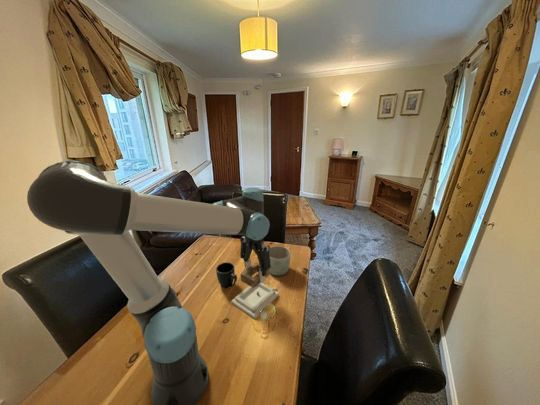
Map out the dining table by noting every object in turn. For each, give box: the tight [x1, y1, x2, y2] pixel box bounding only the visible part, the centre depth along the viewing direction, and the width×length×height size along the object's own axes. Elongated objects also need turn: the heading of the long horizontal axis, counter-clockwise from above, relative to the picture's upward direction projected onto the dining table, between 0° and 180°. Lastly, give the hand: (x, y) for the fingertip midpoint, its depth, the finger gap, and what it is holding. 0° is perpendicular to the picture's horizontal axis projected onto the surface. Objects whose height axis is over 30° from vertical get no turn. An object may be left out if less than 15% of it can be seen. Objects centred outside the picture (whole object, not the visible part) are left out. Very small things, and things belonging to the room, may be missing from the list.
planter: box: [269, 245, 292, 276], centre depth 110 cm, size 12×12×11 cm
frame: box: [240, 262, 270, 288], centre depth 89 cm, size 10×7×4 cm
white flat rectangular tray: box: [231, 282, 279, 319], centre depth 93 cm, size 16×13×3 cm
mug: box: [215, 262, 238, 289], centre depth 99 cm, size 8×12×10 cm
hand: (255, 277), depth 90 cm, fingers closed on frame, 7 cm apart
